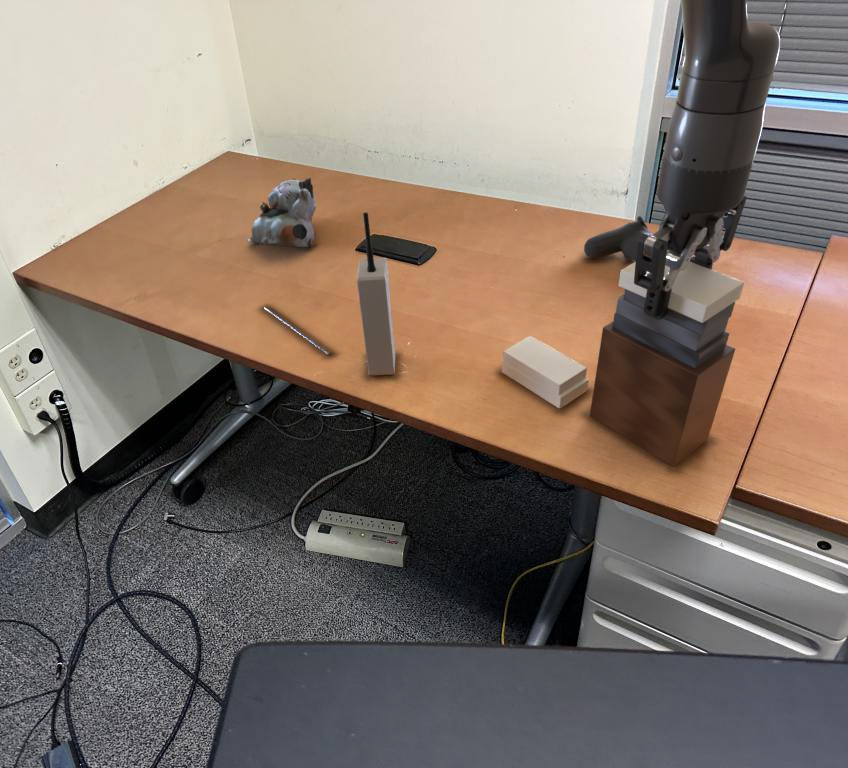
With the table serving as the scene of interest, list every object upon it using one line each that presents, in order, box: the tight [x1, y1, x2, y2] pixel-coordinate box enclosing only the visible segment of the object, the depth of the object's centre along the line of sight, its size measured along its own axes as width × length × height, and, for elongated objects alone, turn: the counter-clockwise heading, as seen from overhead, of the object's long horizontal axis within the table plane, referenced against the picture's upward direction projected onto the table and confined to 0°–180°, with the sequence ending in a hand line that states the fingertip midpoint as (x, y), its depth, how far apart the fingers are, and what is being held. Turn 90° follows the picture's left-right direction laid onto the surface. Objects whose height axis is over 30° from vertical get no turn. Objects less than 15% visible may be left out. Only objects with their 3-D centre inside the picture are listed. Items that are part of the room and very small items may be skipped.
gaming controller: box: [583, 215, 681, 262], centre depth 111 cm, size 17×6×10 cm
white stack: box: [501, 335, 590, 409], centre depth 93 cm, size 10×5×4 cm, turn 34°
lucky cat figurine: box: [246, 177, 317, 248], centre depth 132 cm, size 15×12×14 cm
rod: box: [263, 305, 332, 357], centre depth 112 cm, size 1×19×1 cm, turn 36°
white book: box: [618, 254, 745, 323], centre depth 72 cm, size 10×6×2 cm, turn 34°
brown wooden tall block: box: [589, 288, 736, 467], centre depth 79 cm, size 12×7×20 cm, turn 34°
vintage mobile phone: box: [356, 212, 396, 376], centre depth 94 cm, size 4×5×25 cm
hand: (674, 302), depth 73 cm, fingers closed on white book, 6 cm apart
